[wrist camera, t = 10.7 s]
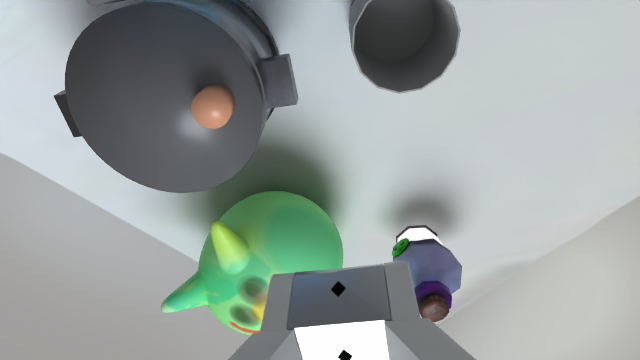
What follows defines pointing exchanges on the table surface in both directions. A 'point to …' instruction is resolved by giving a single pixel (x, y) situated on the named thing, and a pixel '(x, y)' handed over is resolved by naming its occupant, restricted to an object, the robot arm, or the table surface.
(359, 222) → the table surface
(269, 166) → the table surface
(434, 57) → the cup
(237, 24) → the cooker pot
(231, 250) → the toy bird
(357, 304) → the robot arm
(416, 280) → the potion bottle
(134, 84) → the lid
